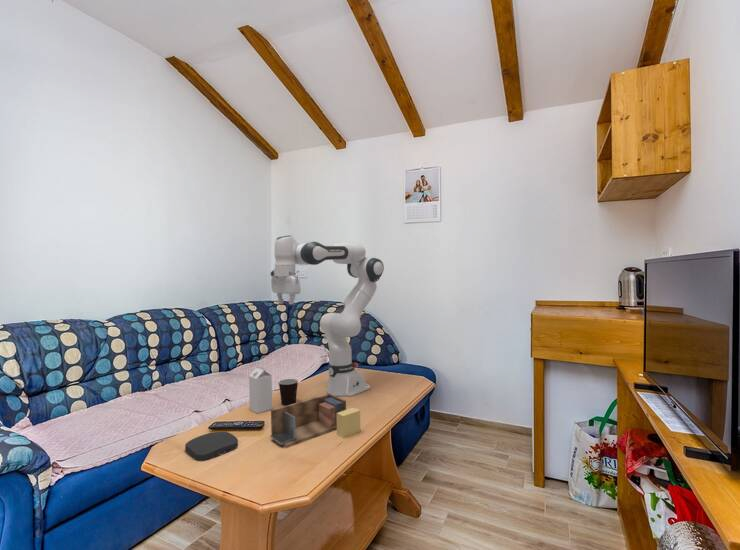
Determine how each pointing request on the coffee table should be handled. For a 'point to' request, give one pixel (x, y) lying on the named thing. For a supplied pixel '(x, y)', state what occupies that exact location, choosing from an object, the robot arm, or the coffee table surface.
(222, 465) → the coffee table surface
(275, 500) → the coffee table surface
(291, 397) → the coffee mug
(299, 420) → the shelf
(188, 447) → the media streaming box
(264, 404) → the milk carton
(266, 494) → the coffee table surface
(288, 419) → the bookend
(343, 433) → the book
